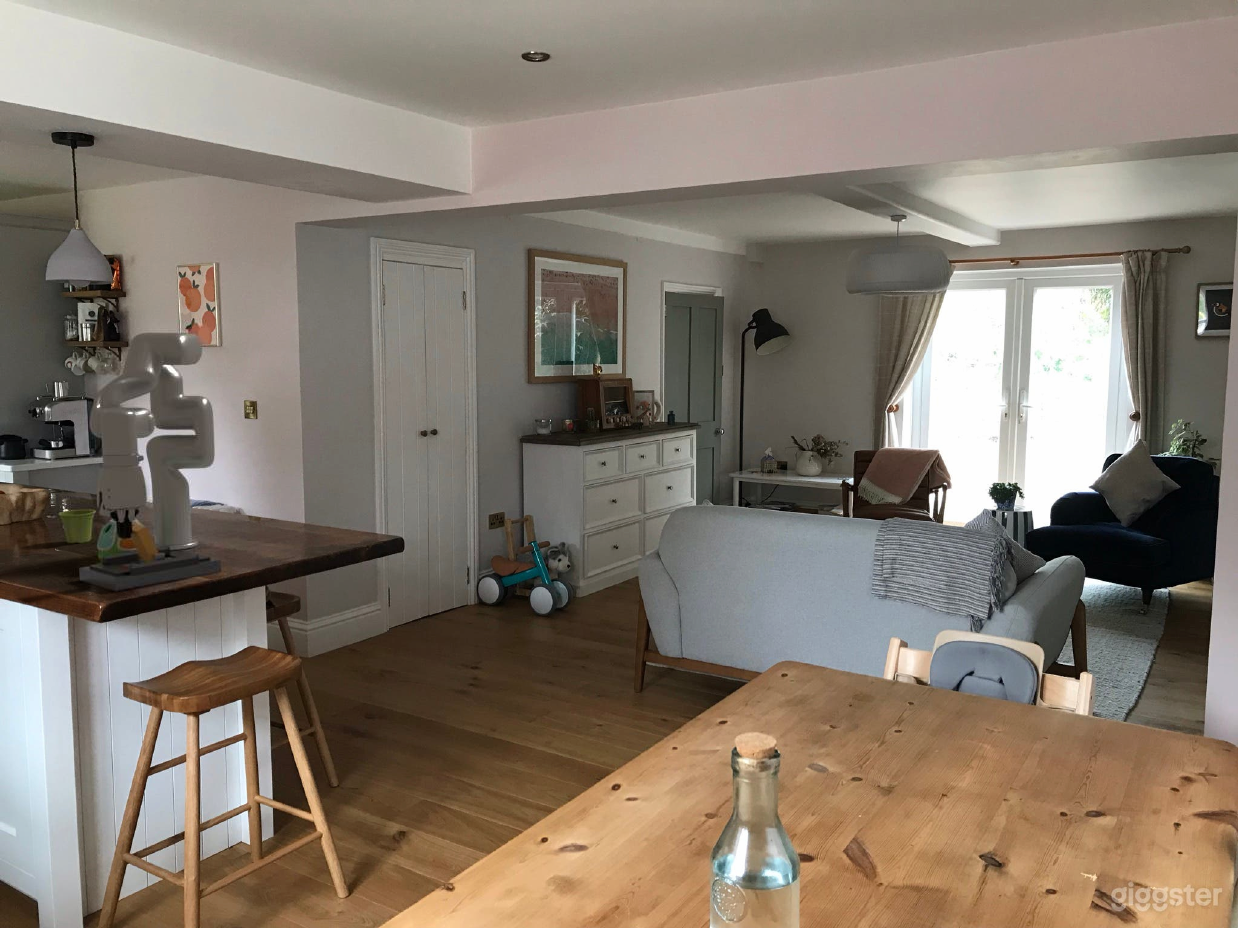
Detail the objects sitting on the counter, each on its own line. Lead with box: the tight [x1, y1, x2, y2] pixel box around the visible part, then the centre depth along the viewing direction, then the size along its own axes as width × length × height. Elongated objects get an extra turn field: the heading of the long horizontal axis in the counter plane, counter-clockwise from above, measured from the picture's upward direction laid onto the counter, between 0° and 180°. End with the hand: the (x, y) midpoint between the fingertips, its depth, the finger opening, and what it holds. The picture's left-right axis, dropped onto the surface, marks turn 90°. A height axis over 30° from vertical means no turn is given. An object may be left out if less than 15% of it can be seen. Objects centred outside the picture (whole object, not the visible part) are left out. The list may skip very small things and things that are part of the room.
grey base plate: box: [78, 550, 222, 592], centre depth 241 cm, size 18×26×6 cm
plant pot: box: [58, 509, 96, 544], centre depth 285 cm, size 9×9×9 cm
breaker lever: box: [131, 524, 158, 562], centre depth 240 cm, size 6×2×9 cm, turn 52°
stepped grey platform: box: [102, 546, 200, 576], centre depth 241 cm, size 20×18×2 cm
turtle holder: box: [96, 518, 144, 564], centre depth 255 cm, size 12×18×12 cm
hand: (124, 537), depth 236 cm, fingers closed
